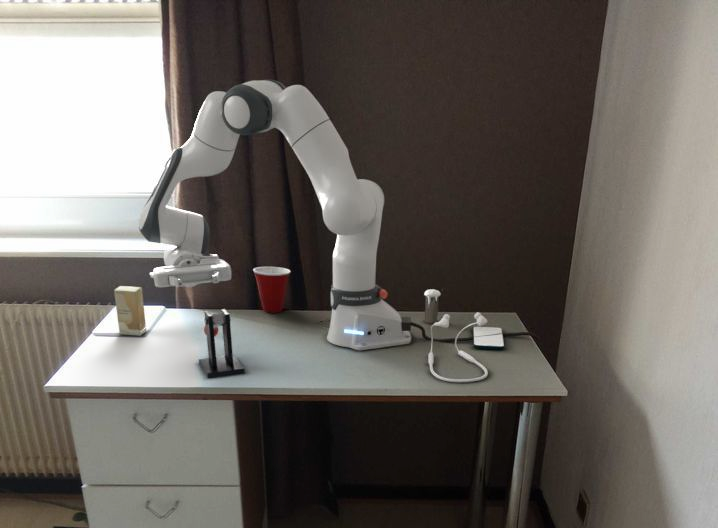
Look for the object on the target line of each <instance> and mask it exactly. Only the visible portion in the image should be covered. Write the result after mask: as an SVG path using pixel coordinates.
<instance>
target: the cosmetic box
mask: <svg viewBox="0 0 718 528" xmlns="http://www.w3.org/2000/svg"><path fill="white" fill-rule="evenodd" d="M113 293H114V300H115V308H116V316H117V317H116V318H117V325H118V331H119V335H125V336H126V335H127V336H138V337H141V336H142V335H144V334H145V333H147V323H146V316H145V306H144V295H143V287H142V286H141V287H140V286H130V285H129V286H128V285H127V286H126V285H119V286H118V287H116V288H115V289H114V290H113ZM145 327H146V328H145ZM144 328H145V329H144ZM143 329H144V330H143ZM142 330H143V331H142ZM141 331H142V332H141Z"/></svg>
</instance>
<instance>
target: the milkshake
mask: <svg viewBox="0 0 718 528" xmlns="http://www.w3.org/2000/svg"><path fill="white" fill-rule="evenodd" d="M444 289H445V288H444V287H443V288H442V291H441V292H440V291H439V290H437V289H434V288H432V289H431V288H430V289H426V290H425V291H424V293H423V296H424V298H423V299H424V323H426V324H431V325H434V323H436V322H438V315H439V314H438V313H439V307H440V300H441V294H442V292H443V290H444Z"/></svg>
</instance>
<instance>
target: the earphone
mask: <svg viewBox="0 0 718 528" xmlns="http://www.w3.org/2000/svg"><path fill="white" fill-rule="evenodd" d="M473 316H474V319H475V320H476V322H473V323H470V324H468V325H466V326H464V327H463V328H462V329H461V330H460V331H459V332H458V333H457V335H456V337H455V338H456V340H455V341H454V346H455V349H456V351H457V353H458V354H457V355H458V356H459V357H462V358H463V359H465V360H466V361H468V362H469V363H472V364H475V365H477V366H478V367H479V368H481V370H483V372H484V374H483V375H482V376H479V377H474V378H464V379H463V378H462V379H461V378H460V379H456V378H448V377H445V376H442V375H439V374H437V373H436V372H435V371H434V366H433V365H434V355H435V354H434V353H433V345H434V344H433V343H434V341H433V339H434V334H433V328H434V327H441V328H444V329H448V328H449V326H450V319H451V316H450V314H448V313H445V314H444V315H442V318H441V319H440V320H439V321H437V322H436V323H433V324H431V326H430V335H431V338H432V341H431V345H430V352H428V356H427V360H428V361H427V363H428V365H429V370H430V373H431V374H432V375H433V376H434V377H435V378H436V379H438V380H440V381H444V382H449V383H462V384H463V383H474V382H479V381H482V380H484V379H486V378H487V377H488V375H489V371H488V368H486V366H484V365H483V364H482V363H480V362H479V361H477V359H475V357H473V356H472V355H470V354H469V353H467V352H466V351H464V350H459V348H458V346H457V342H458V341H457V338H459V336H460V335H461V333H462V332H463V331H464V330H466V329H467V328H469V327H471V326H474V325H477V327H483V326H484V325H486V324H488V319H487V318H486V317H485V316H484V315H482V313H481V312H479V311H477V312H475V314H474V315H473Z"/></svg>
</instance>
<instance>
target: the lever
mask: <svg viewBox="0 0 718 528" xmlns="http://www.w3.org/2000/svg"><path fill="white" fill-rule="evenodd" d="M211 315H212V316H213V327H214V338H215V337H217V335H218V334H219V332H220V331H219V330H220V329H219V327H222V325H223V324H224V321H223V316H222V313H221V312H220V313H213V314H211ZM203 333H204V334H205V335H206V325H205V324H204V326H203Z"/></svg>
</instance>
